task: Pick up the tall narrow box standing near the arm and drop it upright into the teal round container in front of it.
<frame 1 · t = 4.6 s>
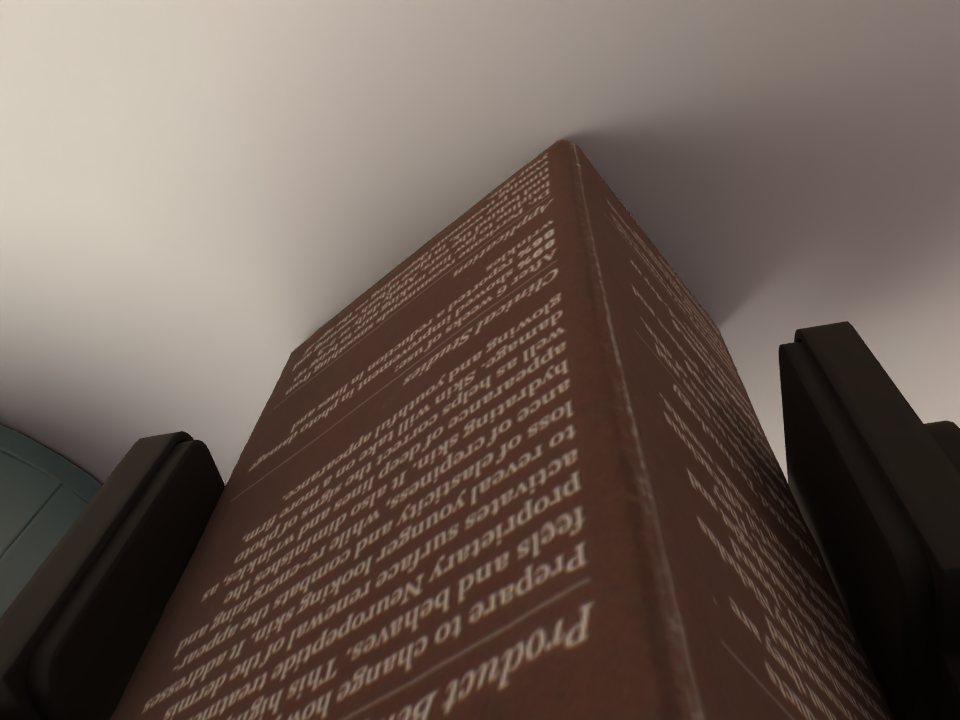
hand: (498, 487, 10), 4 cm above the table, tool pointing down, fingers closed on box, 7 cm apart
box: (510, 338, 14), on the table, touching gripper
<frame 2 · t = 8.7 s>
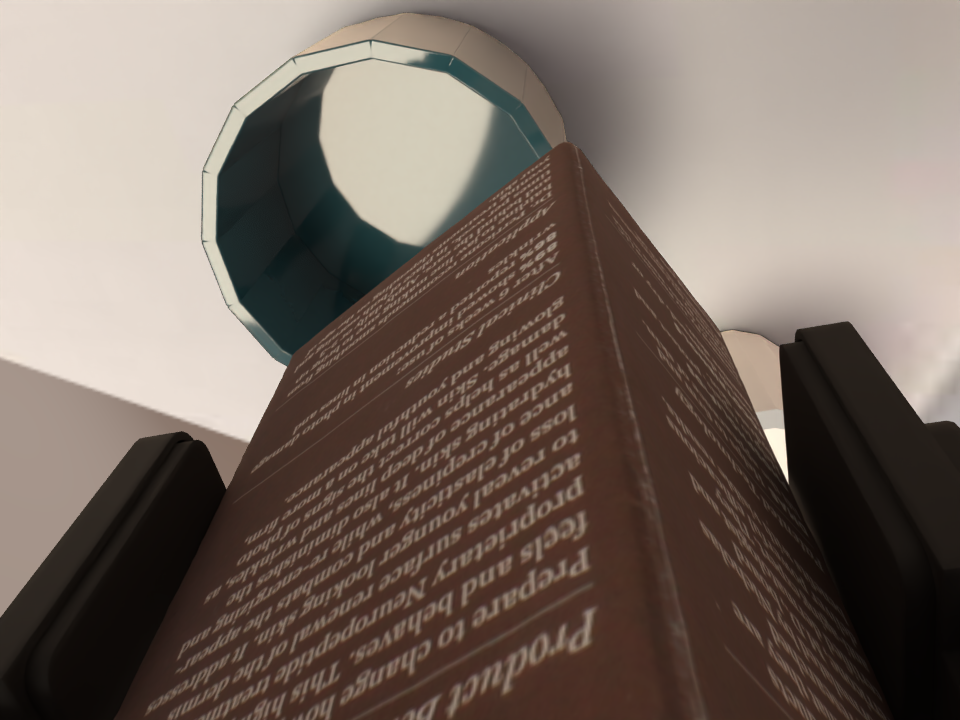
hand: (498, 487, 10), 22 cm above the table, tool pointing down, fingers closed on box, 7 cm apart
box: (512, 340, 14), point 18 cm above the table, touching gripper
cream cylinder: (724, 389, 34), on the table
teal round container: (418, 175, 31), on the table
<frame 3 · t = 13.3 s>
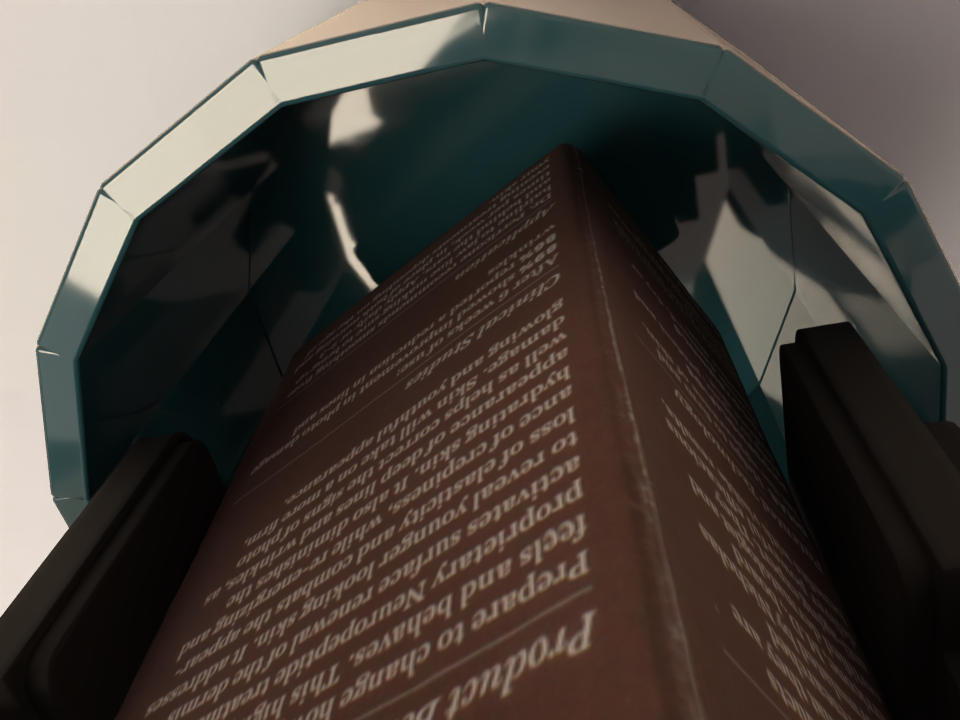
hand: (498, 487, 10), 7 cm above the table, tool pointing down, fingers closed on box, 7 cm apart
box: (511, 341, 14), point 3 cm above the table, touching gripper
teal round container: (516, 278, 16), on the table
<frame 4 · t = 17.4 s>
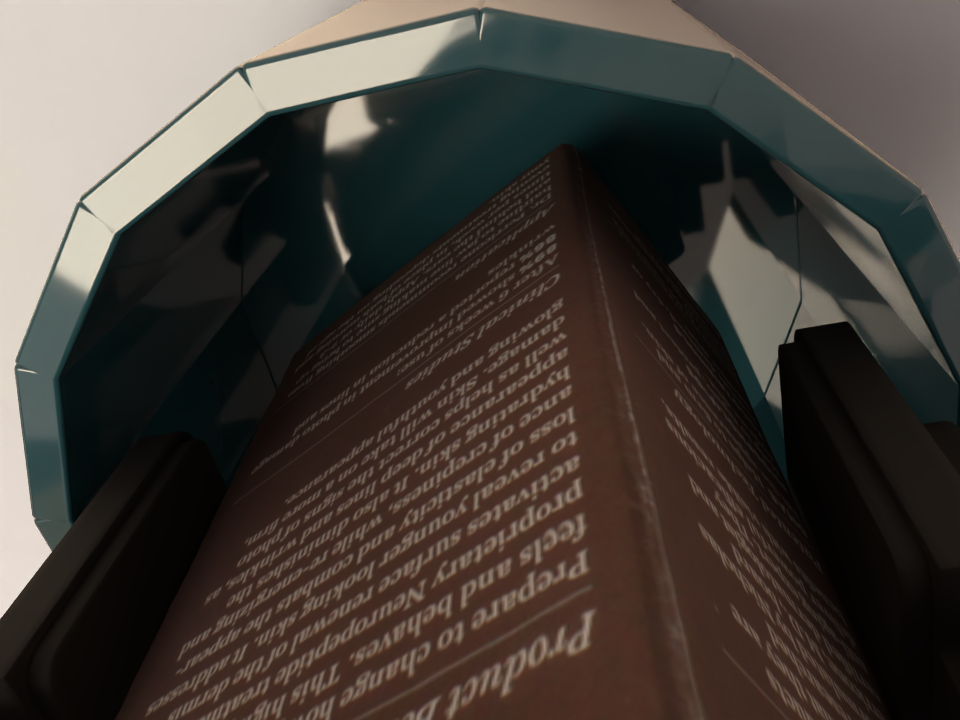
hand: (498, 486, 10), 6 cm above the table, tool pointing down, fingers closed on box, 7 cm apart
box: (511, 341, 14), point 2 cm above the table, touching gripper
teal round container: (515, 287, 16), on the table
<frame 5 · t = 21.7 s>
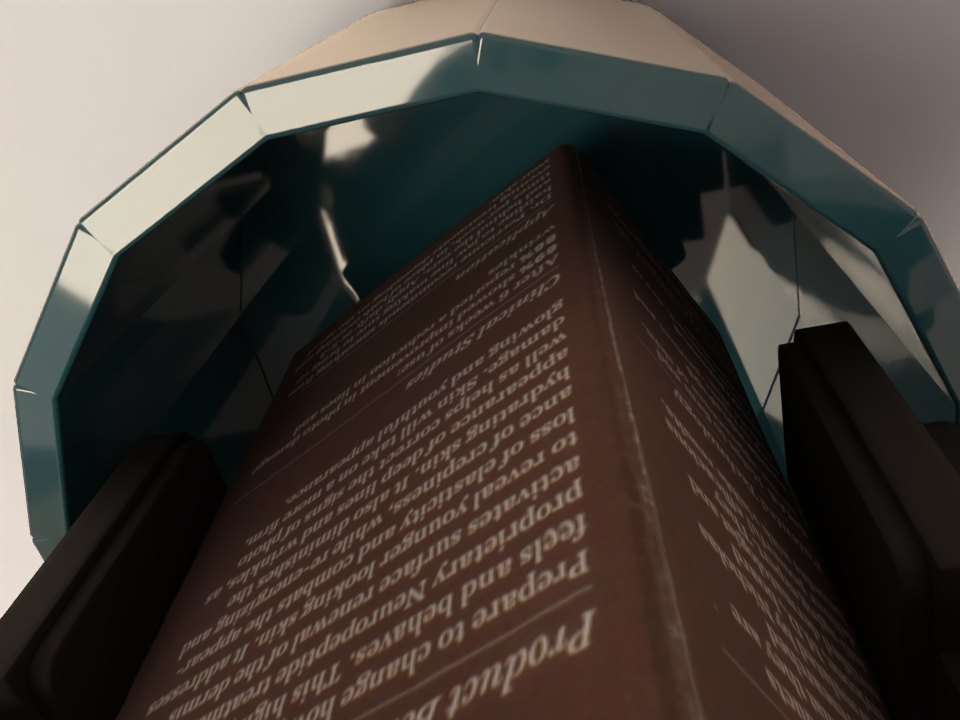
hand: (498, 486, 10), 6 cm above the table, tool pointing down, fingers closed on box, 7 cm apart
box: (511, 341, 14), point 2 cm above the table, touching gripper
teal round container: (513, 302, 16), on the table
when the fingers open (7 cm above the table, at t = 24.8 s): box drops 3 cm, resting on teal round container.
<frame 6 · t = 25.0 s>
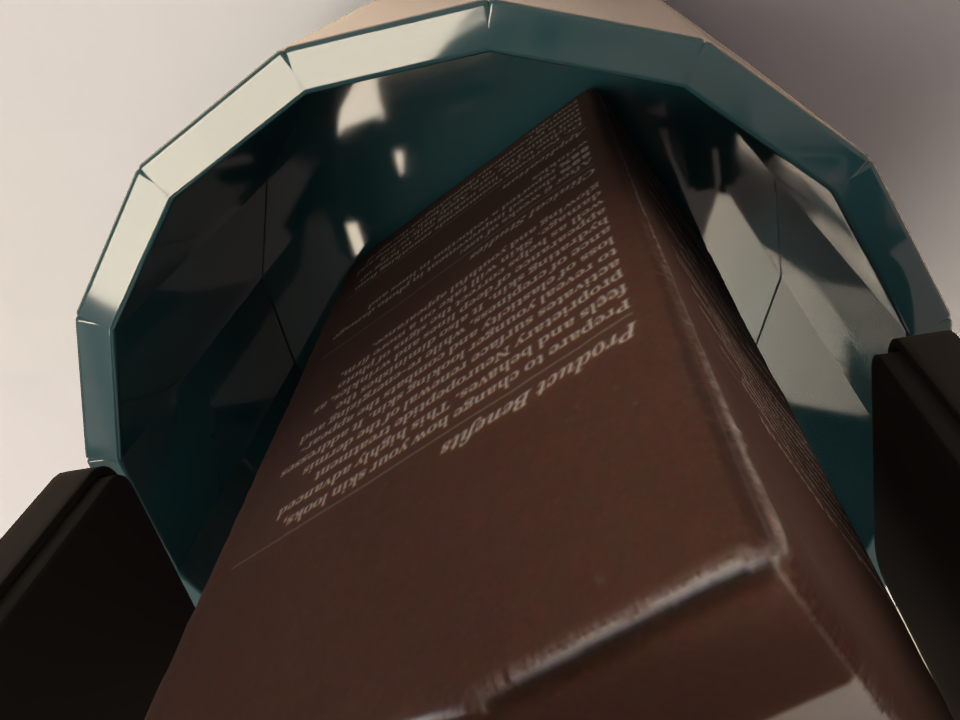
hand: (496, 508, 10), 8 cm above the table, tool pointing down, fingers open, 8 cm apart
box: (535, 261, 17), resting on teal round container
teal round container: (516, 265, 17), on the table
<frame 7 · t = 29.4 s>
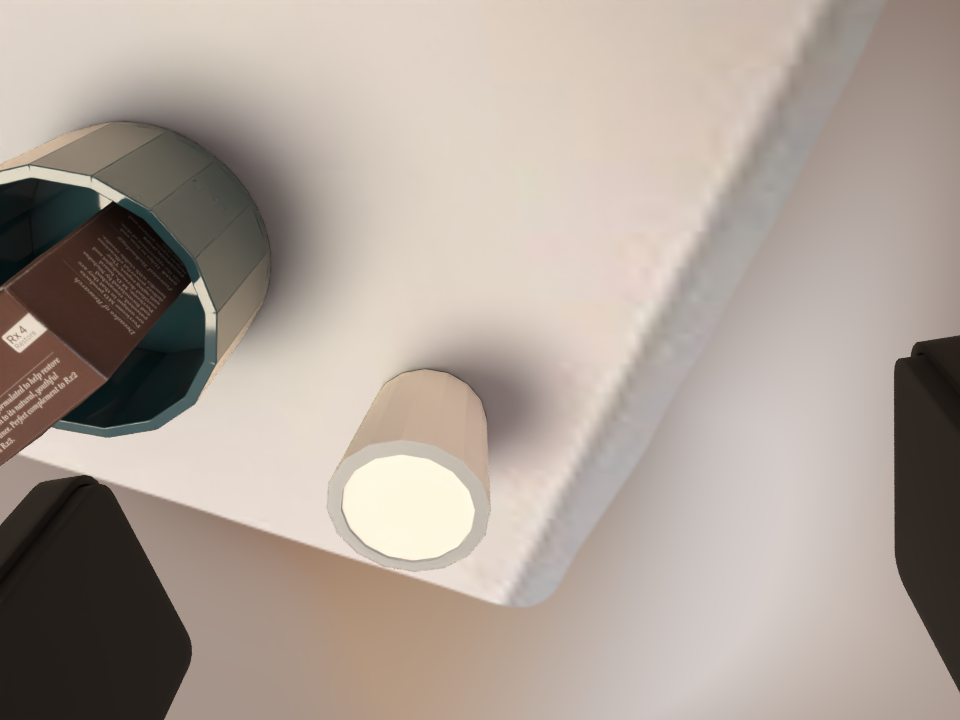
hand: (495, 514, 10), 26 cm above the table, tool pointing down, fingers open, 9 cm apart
box: (153, 244, 37), resting on teal round container
cream cylinder: (429, 417, 41), on the table
teal round container: (149, 246, 37), on the table
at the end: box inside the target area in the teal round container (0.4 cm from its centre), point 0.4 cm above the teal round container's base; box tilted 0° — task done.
